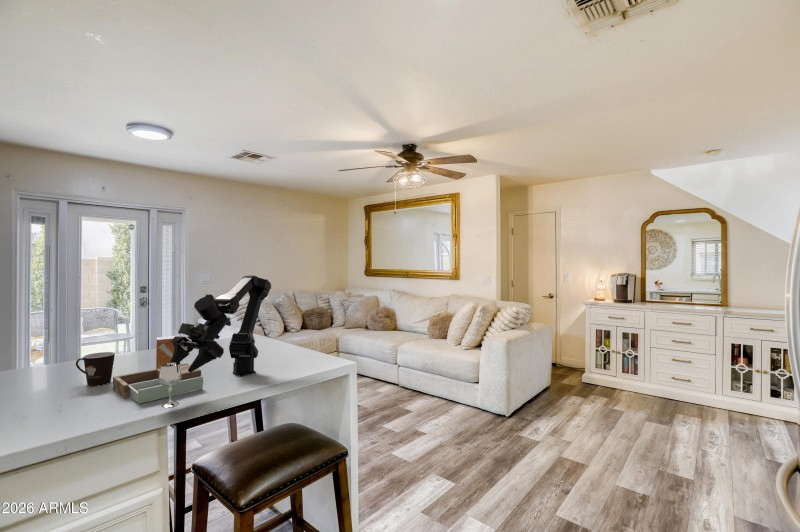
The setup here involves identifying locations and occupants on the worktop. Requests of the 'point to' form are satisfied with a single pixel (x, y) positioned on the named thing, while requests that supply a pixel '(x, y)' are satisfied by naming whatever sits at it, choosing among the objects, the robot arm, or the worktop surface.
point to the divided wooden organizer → (147, 378)
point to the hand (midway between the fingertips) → (179, 369)
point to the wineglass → (170, 379)
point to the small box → (164, 350)
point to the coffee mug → (98, 367)
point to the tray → (162, 389)
